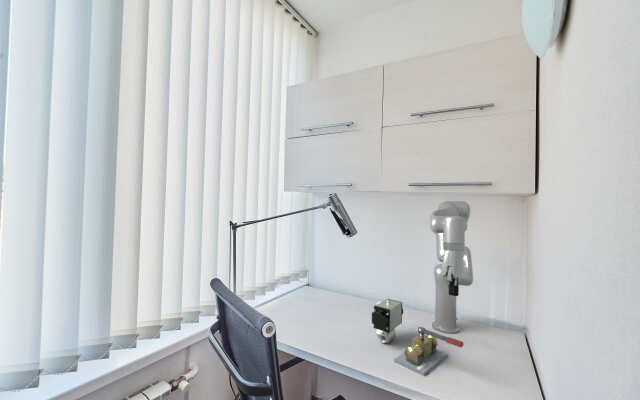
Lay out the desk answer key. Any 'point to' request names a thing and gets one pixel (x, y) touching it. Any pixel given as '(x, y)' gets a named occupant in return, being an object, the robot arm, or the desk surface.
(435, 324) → the robot arm
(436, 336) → the lever
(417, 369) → the base board
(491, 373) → the desk surface
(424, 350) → the valve pipe
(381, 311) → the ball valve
